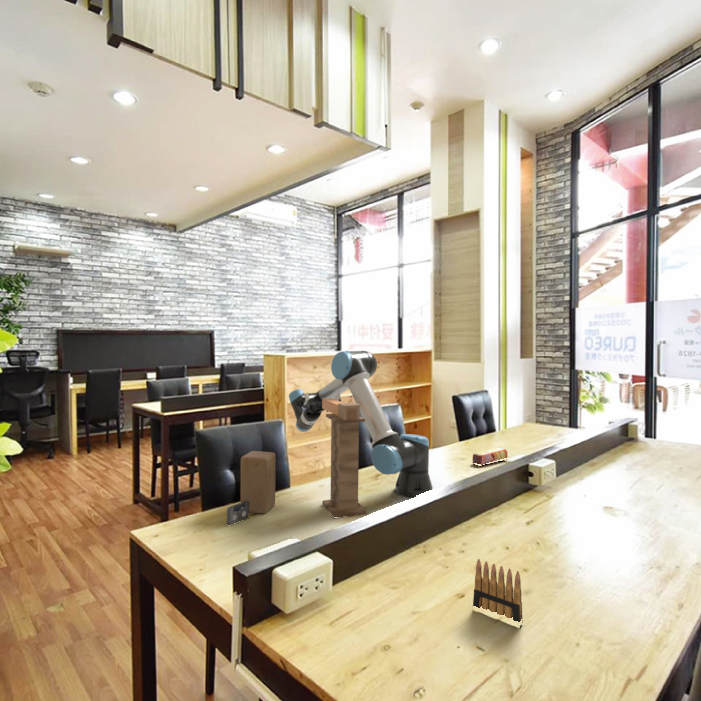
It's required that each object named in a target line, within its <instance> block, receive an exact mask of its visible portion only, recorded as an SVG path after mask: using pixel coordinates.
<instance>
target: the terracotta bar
mask: <svg viewBox="0 0 701 701" xmlns="http://www.w3.org/2000/svg"><path fill="white" fill-rule="evenodd" d="M322 409H325V410H324V411H326V410H327V411H329V412H328V413H330V414H335V415H337V416H338V418H340V419H343V420H354V419H360V417H361V416H360V415H361V413H360V405H358V404H356V402H342V401H341V402H340V401H338V400H335V399H332V398H324V399H322ZM327 411H326V412H327Z"/></svg>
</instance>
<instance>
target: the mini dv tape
mask: <svg viewBox="0 0 701 701" xmlns="http://www.w3.org/2000/svg"><path fill="white" fill-rule="evenodd" d="M249 514H250V512H249V501H244V502H241V501H240V502H239V503H236V504H234V505H231V506H228V507H227V508H226V525H227V524H228V525H231V524H234V523H236V524H238V523H237V522H239V521H241V522H243V521H246V520H248V519H249V517H250V516H249ZM247 518H248V519H247ZM245 519H246V520H245ZM242 520H243V521H242ZM239 523H240V522H239ZM228 525H227V526H228ZM234 525H235V524H234ZM231 526H232V525H231Z"/></svg>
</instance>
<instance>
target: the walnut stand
mask: <svg viewBox="0 0 701 701" xmlns="http://www.w3.org/2000/svg"><path fill="white" fill-rule="evenodd" d="M325 417H326V418H327V419H328V420H331V424H330V425H331V426H330V429H331V430H330V499H325V500H324V499H323V500H322V504H323V505H322V504H321V505H322V506H323V507H324V508H325V509H326V510H327V511H328V512H330V513H331V514H332V515H333V516H334V517H341V518H344V517H343V516H348V517H354V515H356V516H362V515H367V514H368V513H367V512H368V511H367V509H366V507H364V506H363V505H362V504H361V503H360V502H359V454H360V452H359V450H360V446H359V443H360V440H359V439H360V438H359V437H360V423H365V419H364V418H363V417H362V416H360V419H354V420H343V419H340V418H338V416H337V415H335V414H333V413H326V414H325ZM330 513H329V514H330ZM331 514H330V515H331ZM332 515H331V516H332ZM333 516H332V517H333ZM334 517H333V518H334Z"/></svg>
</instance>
